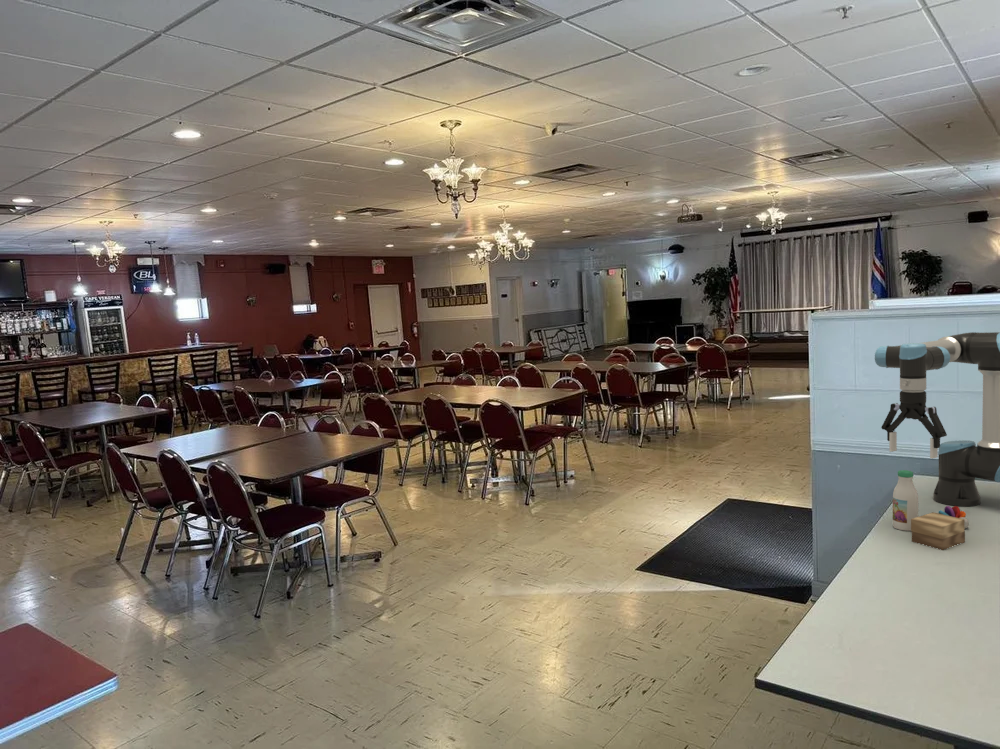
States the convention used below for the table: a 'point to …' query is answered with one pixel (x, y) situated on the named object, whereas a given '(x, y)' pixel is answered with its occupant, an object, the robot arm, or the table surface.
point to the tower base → (938, 540)
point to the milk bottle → (904, 501)
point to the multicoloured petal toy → (955, 514)
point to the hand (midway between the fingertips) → (912, 454)
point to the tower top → (937, 525)
